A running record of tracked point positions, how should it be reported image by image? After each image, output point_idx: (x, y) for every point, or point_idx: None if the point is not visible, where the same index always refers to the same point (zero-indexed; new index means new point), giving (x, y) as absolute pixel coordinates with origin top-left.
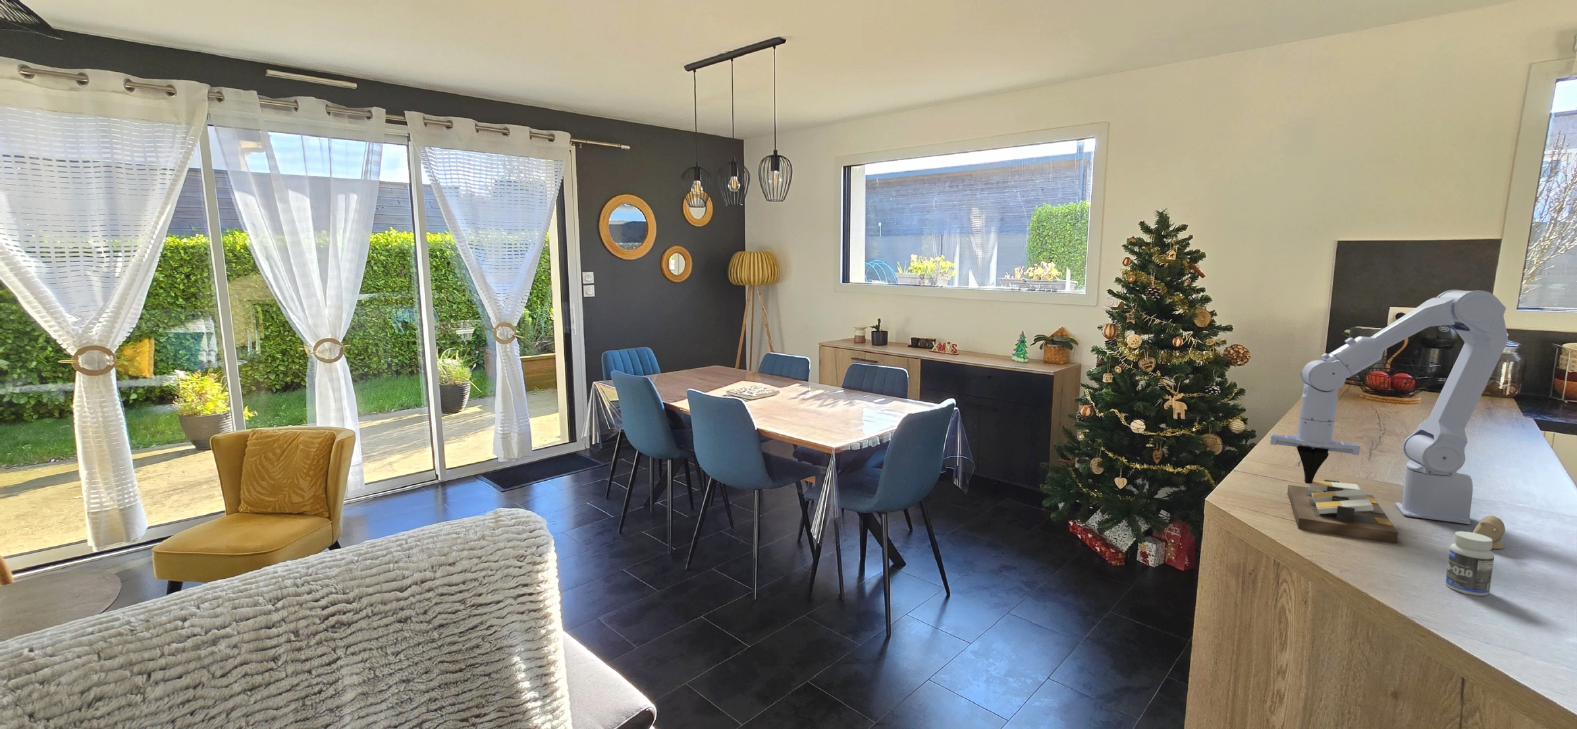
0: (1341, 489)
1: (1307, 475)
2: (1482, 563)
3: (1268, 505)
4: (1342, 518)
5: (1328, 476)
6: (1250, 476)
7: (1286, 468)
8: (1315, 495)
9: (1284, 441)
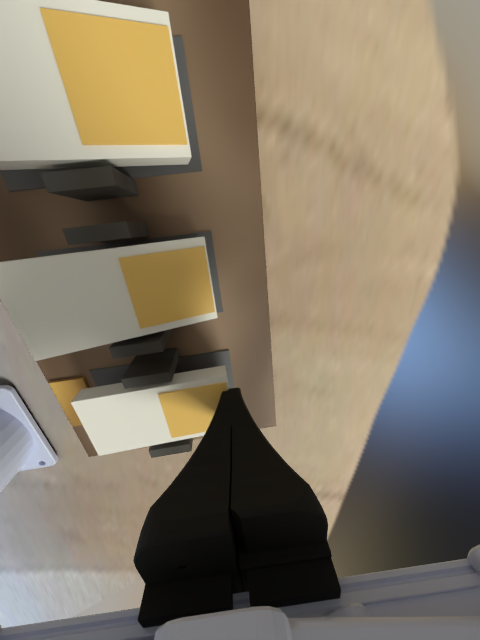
0: (127, 375)
1: (239, 406)
2: None
3: (318, 267)
4: None
5: None
6: (334, 479)
7: None
8: (200, 272)
9: (444, 616)
